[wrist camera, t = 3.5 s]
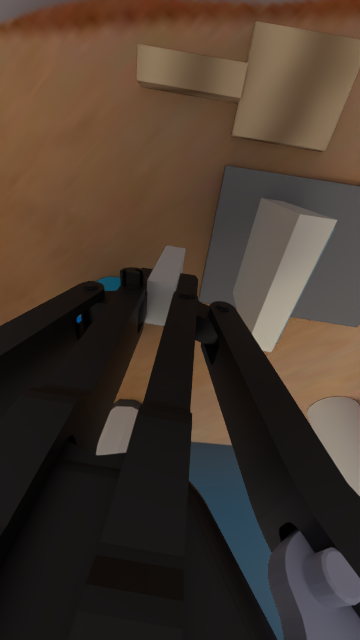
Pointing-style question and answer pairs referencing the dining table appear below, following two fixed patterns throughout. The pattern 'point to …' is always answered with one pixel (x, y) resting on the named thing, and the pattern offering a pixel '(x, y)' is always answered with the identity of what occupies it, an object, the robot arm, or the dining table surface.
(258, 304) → the tile
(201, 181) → the dining table surface
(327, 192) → the mat
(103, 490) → the robot arm
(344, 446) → the cup
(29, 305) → the dining table surface
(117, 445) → the wine bottle
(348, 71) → the turner
